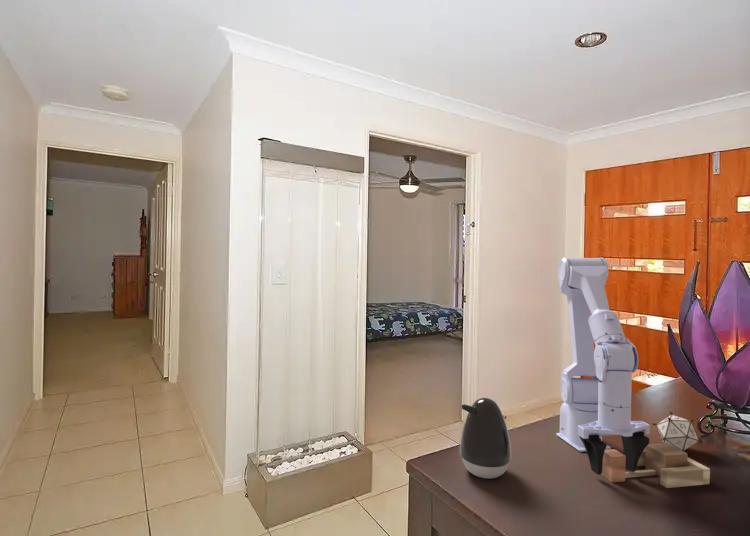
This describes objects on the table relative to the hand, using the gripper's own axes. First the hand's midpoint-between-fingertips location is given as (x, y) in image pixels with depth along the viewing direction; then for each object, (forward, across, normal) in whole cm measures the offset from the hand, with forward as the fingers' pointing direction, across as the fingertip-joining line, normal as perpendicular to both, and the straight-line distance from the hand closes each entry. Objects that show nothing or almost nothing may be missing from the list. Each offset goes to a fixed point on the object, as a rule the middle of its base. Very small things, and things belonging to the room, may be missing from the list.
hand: (613, 470), depth 85 cm
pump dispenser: (+2, -24, +6) cm, 25 cm away
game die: (+2, +24, +9) cm, 25 cm away
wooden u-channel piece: (+1, +12, 0) cm, 12 cm away
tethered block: (+1, +6, 0) cm, 7 cm away
